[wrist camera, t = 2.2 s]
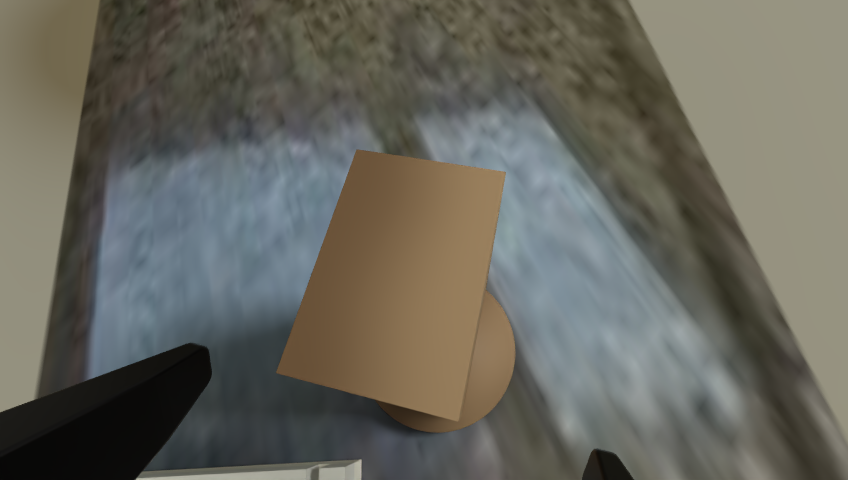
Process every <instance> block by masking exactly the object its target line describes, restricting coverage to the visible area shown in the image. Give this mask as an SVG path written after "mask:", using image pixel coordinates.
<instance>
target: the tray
mask: <svg viewBox="0 0 848 480" xmlns="http://www.w3.org/2000/svg"><path fill="white" fill-rule="evenodd" d="M136 480H361V459H359V460H341V461H323V462H305V463H287V464H269V465H251V466H233V467H216V468H198V469H180V470H162V471H144V472H142V473H141V474H140V475H139V476H138V477H137V479H136Z"/></svg>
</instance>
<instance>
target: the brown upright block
mask: <svg viewBox="0 0 848 480" xmlns="http://www.w3.org/2000/svg"><path fill="white" fill-rule="evenodd" d="M505 175H506V172H503V171H496V170H489V169H483V168H476V167H470V166H463V165H456V164H450V163H443V162H437V161H430V160H423V159H417V158H410V157H404V156H397V155H390V154H384V153H377V152H371V151H364V150H356V153H355V155H354V158H353V161H352V164H351V167H350V169H349V172H348V175H347V178H346V180H345V183H344V186H343V189H342V191H341V194H340V197H339V200H338V203H337V205H336V208H335V211H334V214H333V216H332V219H331V222H330V225H329V227H328V230H327V233H326V236H325V239H324V241H323V244H322V247H321V250H320V252H319V255H318V258H317V261H316V263H315V266H314V269H313V272H312V274H311V277H310V280H309V283H308V286H307V288H306V291H305V294H304V297H303V299H302V302H301V305H300V308H299V310H298V313H297V316H296V319H295V322H294V324H293V327H292V330H291V333H290V335H289V338H288V341H287V344H286V346H285V349H284V352H283V355H282V358H281V360H280V363H279V366H278V369H277V371H276V373H278V374H281V375H285V376H289V377H293V378H296V379H300V380H304V381H308V382H311V383H315V384H319V385H323V386H326V387H330V388H334V389H338V390H341V391H345V392H349V393H353V394H356V395H360V396H364V397H368V398H371V399H374V400H375V401H376V402H377V403H378V405H379V406H380V407H381V408H382V409H383V410H384V411H385V412H386V413H387V414H388V415H389V416H391V417H392V418H394V419H395V420H396V421H398V422H400V423H402V424H404V425H406V426H408V427H411V428H413V429H416V430H420V431H425V432H437V433H440V432H450V431H454V430H458V429H462V428H464V427H467V426H469V425H471V424H473V423H475V422H477V421H478V420H480V419H481V418H483V417H484V416H485V415H486V414H488V413H489V412H490V411H491V410H492V409H493V408H494V407H495V406H496V405H497V403H498V402H499V401H500V399H501V398H502V396H503V395H504V393H505V391H506V389H507V387H508V385H509V382H510V380H511V377H512V373H513V369H514V363H515V342H514V336H513V332H512V329H511V325H510V322H509V320H508V318H507V316H506V314H505V312H504V310H503V309H502V307H501V306H500V304H499V303H498V302H497V301H496V299H495V298H494V297H493V296H492V295H491V294H490V293H489V292H488V291H487V290H486V285H487V279H488V273H489V267H490V262H491V256H492V250H493V244H494V238H495V233H496V227H497V221H498V215H499V209H500V204H501V198H502V192H503V186H504V180H505Z"/></svg>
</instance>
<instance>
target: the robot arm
mask: <svg viewBox="0 0 848 480" xmlns="http://www.w3.org/2000/svg"><path fill="white" fill-rule="evenodd" d="M211 375H212V369H211V362H210V355H209V350H208V348H207V347H206V346H203V345H199V344H196V343H188V344H185V345H182V346H179V347H177V348H174V349H171V350H169V351H166V352H163V353H160V354H158V355H155V356H152V357H150V358H147V359H144V360H141V361H139V362H136V363H133V364H131V365H128V366H125V367H122V368H120V369H117V370H114V371H111V372H109V373H106V374H103V375H101V376H98V377H95V378H92V379H90V380H87V381H84V382H82V383H79V384H76V385H73V386H71V387H68V388H65V389H63V390H60V391H57V392H54V393H52V394H49V395H46V396H43V397H41V398H38V399H35V400H33V401H30V402H27V403H24V404H22V405H19V406H16V407H14V408H11V409H8V410H5V411H3V412H0V480H136V479H137V477H138V476H139V475H140V474H141V473H142V471H143V470H144V469H145V468H146V467H147V465H148V464H149V463H150V462H151V461H152V459H153V458H154V457H155V456H156V455H157V453H158V452H159V451H160V450H161V449H162V447H163V446H164V445H165V444H166V442H167V441H168V440H169V438H170V437H171V436H172V434H173V433H174V432H175V430H176V429H177V427H178V426H179V425H180V423H181V422H182V420H183V419H184V417H185V416H186V415H187V413H188V412H189V410H190V409H191V407H192V406H193V404H194V403H195V402H196V400H197V399H198V397H199V396H200V394H201V393H202V392H203V390H204V389H205V387H206V386H207V384H208V383H209V381H210V379H211ZM582 480H634V479H633V477H632V476H631V475H630V473H629V472H628V470H627V469H626V467H625V466H624V465H623V463H622V462H621V460H620V459H619V457H618V456H617V455H616V454H614V453H612V452H609V451H605V450H601V449H594V450H593V451H592V452H591V455H590V457H589V460H588V463H587V465H586V468H585V470H584V473H583V477H582Z"/></svg>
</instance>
